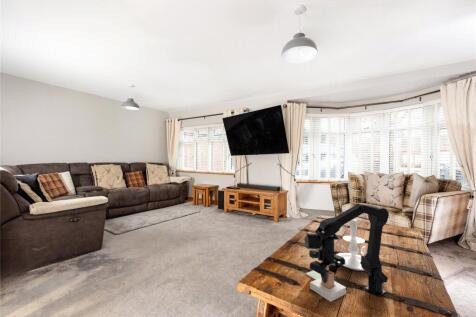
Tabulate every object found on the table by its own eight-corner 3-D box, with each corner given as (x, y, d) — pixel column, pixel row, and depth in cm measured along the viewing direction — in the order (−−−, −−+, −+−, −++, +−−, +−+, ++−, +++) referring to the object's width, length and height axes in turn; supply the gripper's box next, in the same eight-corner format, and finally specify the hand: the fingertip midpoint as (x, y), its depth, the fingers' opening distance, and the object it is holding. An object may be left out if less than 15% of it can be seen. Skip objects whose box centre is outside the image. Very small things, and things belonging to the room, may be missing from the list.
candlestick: (384, 266, 122) (384, 218, 122) (363, 279, 108) (363, 225, 108) (348, 253, 139) (348, 211, 139) (327, 263, 125) (327, 216, 125)
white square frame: (325, 281, 106) (325, 275, 106) (345, 293, 96) (345, 287, 96) (310, 288, 100) (310, 282, 100) (330, 301, 91) (330, 294, 91)
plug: (326, 287, 101) (326, 268, 101) (334, 292, 97) (334, 272, 97) (321, 290, 99) (321, 271, 99) (328, 294, 95) (328, 275, 95)
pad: (316, 269, 117) (316, 269, 117) (331, 277, 109) (331, 276, 109) (305, 274, 113) (305, 273, 113) (319, 282, 105) (319, 281, 105)
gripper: (325, 238, 110) (325, 268, 110) (300, 246, 101) (300, 278, 100) (345, 246, 100) (345, 279, 100) (320, 255, 91) (320, 291, 91)
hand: (327, 281), depth 98 cm, fingers open, 5 cm apart
